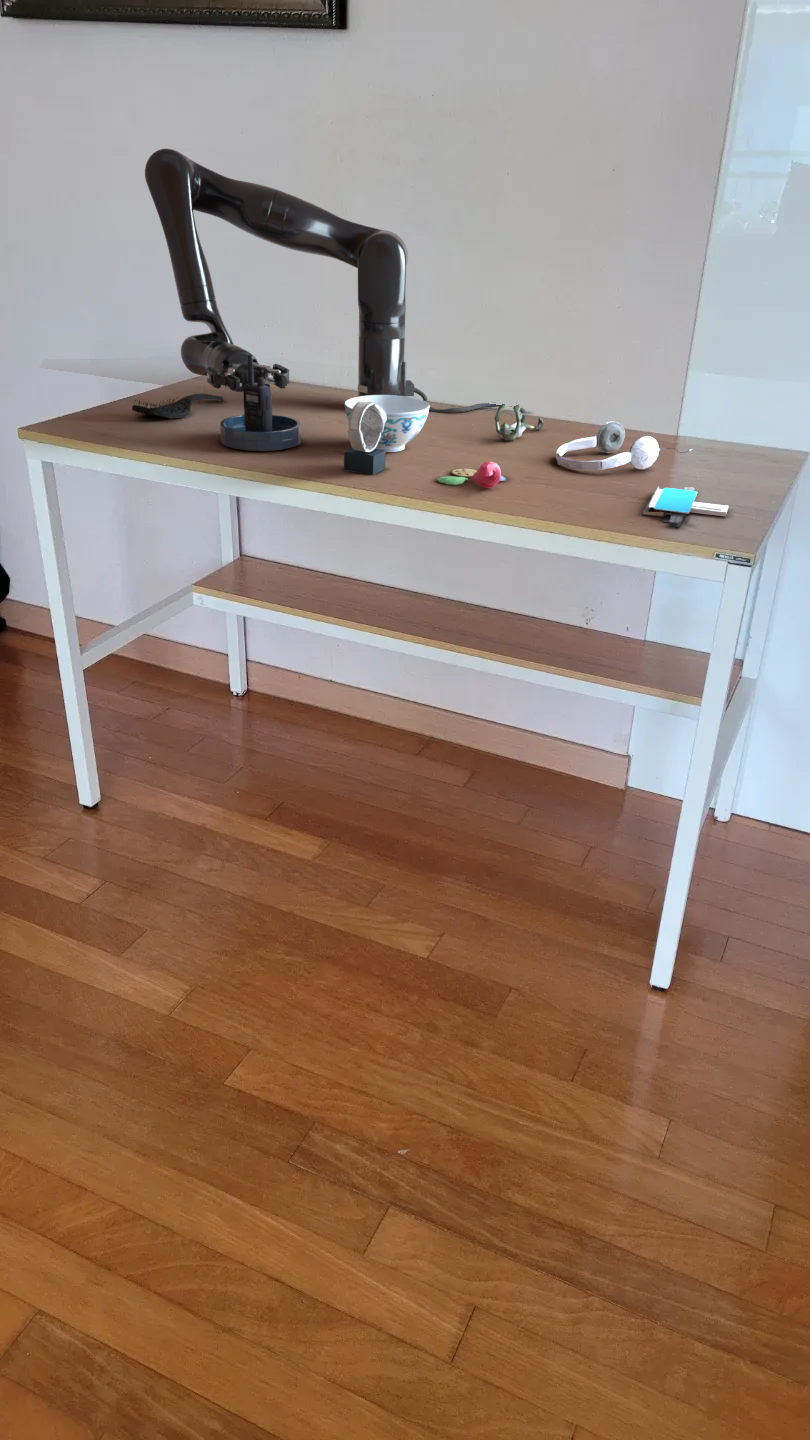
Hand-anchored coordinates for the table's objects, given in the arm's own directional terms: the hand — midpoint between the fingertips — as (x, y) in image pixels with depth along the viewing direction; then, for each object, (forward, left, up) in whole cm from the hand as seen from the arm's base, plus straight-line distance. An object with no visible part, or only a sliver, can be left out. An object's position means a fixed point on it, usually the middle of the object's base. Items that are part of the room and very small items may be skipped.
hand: (261, 383), depth 187 cm
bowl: (0, -1, -10) cm, 11 cm away
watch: (-16, +18, -11) cm, 26 cm away
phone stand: (-62, +44, -11) cm, 77 cm away
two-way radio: (0, -1, -10) cm, 10 cm away
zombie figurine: (-48, -3, -11) cm, 49 cm away
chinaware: (-22, +4, -11) cm, 25 cm away
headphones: (-60, +18, -11) cm, 63 cm away
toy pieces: (-33, +26, -11) cm, 43 cm away
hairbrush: (+14, -27, -11) cm, 32 cm away
